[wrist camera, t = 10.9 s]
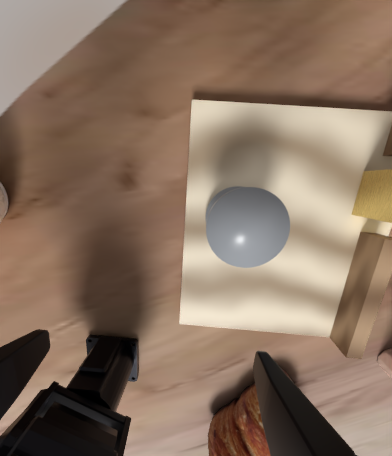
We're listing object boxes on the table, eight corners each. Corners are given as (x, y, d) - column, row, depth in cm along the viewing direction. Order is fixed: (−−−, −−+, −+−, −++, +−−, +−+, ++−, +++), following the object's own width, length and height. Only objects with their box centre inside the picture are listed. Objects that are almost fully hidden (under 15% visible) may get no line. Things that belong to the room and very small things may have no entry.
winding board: (346, 331, 22) (373, 360, 18) (180, 316, 22) (176, 341, 19) (413, 118, 16) (471, 100, 13) (192, 105, 17) (189, 84, 13)
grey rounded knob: (261, 248, 19) (281, 270, 14) (203, 243, 19) (203, 264, 14) (271, 188, 17) (297, 190, 12) (208, 184, 17) (209, 184, 13)
